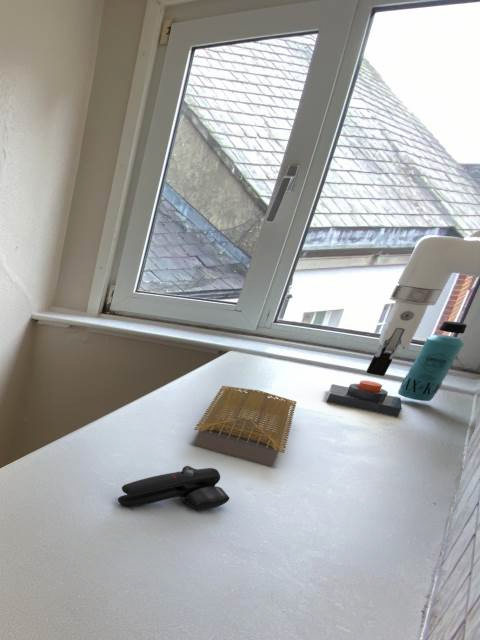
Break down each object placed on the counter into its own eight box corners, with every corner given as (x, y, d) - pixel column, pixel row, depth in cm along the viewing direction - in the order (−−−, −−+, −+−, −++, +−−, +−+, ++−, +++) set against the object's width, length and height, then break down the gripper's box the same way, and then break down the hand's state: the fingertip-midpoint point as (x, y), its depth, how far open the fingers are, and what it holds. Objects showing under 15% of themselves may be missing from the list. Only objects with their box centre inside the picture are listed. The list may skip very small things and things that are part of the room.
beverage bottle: (389, 395, 140) (430, 317, 131) (423, 400, 137) (467, 321, 128) (399, 403, 134) (443, 322, 125) (434, 409, 132) (481, 327, 123)
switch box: (396, 406, 133) (404, 390, 131) (397, 417, 126) (406, 401, 124) (328, 392, 140) (335, 377, 138) (326, 401, 133) (333, 386, 132)
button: (378, 390, 132) (382, 383, 131) (378, 394, 129) (382, 387, 128) (357, 386, 134) (360, 379, 133) (356, 390, 131) (360, 383, 130)
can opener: (198, 488, 92) (209, 458, 90) (231, 510, 86) (244, 479, 83) (103, 493, 89) (112, 463, 87) (130, 517, 83) (141, 485, 80)
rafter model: (277, 469, 99) (290, 439, 97) (188, 445, 108) (198, 416, 105) (290, 416, 124) (301, 390, 121) (217, 399, 132) (226, 375, 129)
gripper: (441, 302, 114) (396, 385, 122) (435, 294, 124) (395, 371, 133) (393, 296, 118) (353, 376, 127) (391, 288, 129) (355, 363, 137)
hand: (375, 373), depth 130 cm, fingers closed
